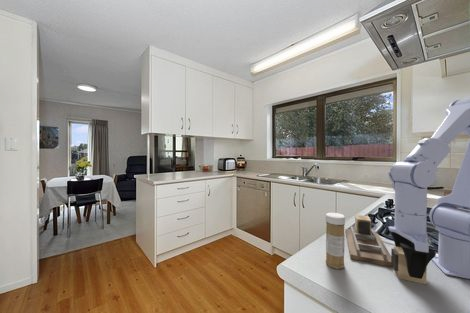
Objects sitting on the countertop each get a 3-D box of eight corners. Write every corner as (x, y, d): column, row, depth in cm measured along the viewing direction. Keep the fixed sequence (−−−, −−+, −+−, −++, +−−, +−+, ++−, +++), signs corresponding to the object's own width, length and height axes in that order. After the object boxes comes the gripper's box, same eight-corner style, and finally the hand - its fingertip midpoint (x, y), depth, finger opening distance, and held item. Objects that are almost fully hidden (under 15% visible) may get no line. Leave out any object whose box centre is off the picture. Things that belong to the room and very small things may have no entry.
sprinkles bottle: (330, 258, 56) (330, 210, 56) (347, 265, 53) (348, 214, 52) (322, 264, 53) (322, 214, 53) (340, 272, 50) (340, 218, 50)
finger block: (390, 268, 51) (391, 245, 51) (419, 274, 49) (419, 250, 49) (395, 277, 48) (395, 252, 47) (426, 284, 45) (426, 258, 45)
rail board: (377, 236, 70) (378, 216, 69) (394, 267, 52) (395, 239, 51) (345, 232, 74) (345, 212, 74) (350, 258, 56) (350, 233, 56)
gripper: (382, 202, 56) (381, 250, 56) (398, 218, 43) (397, 281, 43) (414, 205, 53) (413, 256, 53) (442, 223, 40) (441, 290, 40)
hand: (409, 267), depth 48 cm, fingers open, 7 cm apart
